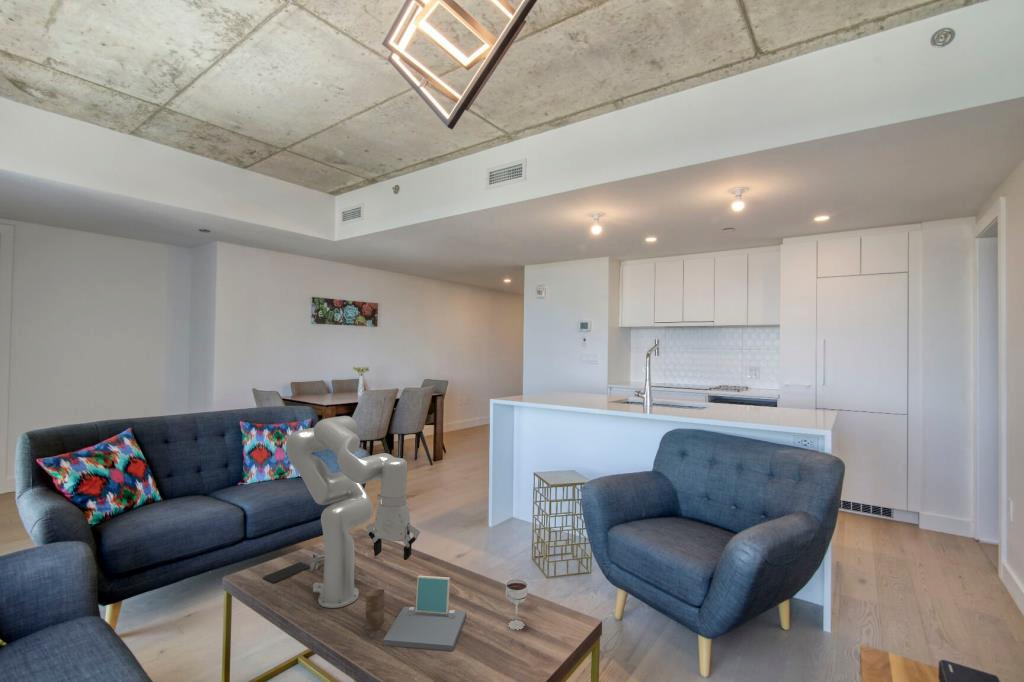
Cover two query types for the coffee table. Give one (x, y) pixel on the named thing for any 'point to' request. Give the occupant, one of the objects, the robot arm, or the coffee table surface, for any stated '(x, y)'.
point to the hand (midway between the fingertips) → (392, 556)
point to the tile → (432, 594)
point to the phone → (286, 572)
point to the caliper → (316, 561)
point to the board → (425, 629)
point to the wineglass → (516, 598)
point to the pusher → (374, 609)
